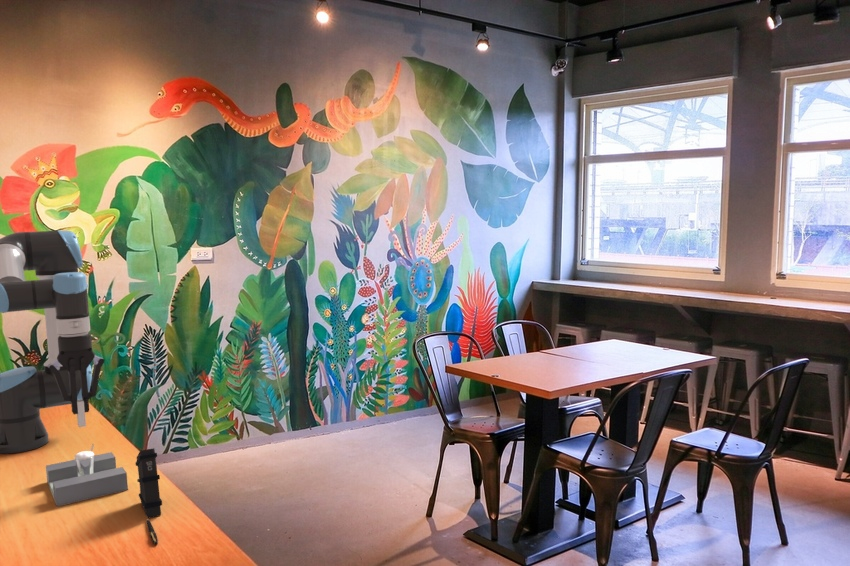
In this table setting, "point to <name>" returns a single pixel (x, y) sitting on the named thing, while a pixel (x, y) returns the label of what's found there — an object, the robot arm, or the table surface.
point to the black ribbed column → (149, 482)
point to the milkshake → (85, 462)
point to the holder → (85, 480)
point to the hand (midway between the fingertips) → (81, 425)
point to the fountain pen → (152, 532)
